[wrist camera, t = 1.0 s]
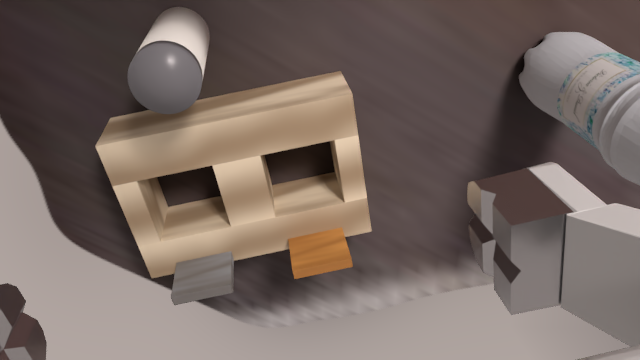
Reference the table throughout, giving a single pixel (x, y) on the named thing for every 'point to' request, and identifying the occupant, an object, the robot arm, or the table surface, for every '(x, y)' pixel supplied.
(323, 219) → the socket block
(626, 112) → the bottle
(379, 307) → the table surface
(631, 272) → the robot arm
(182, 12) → the white grey cylinder
